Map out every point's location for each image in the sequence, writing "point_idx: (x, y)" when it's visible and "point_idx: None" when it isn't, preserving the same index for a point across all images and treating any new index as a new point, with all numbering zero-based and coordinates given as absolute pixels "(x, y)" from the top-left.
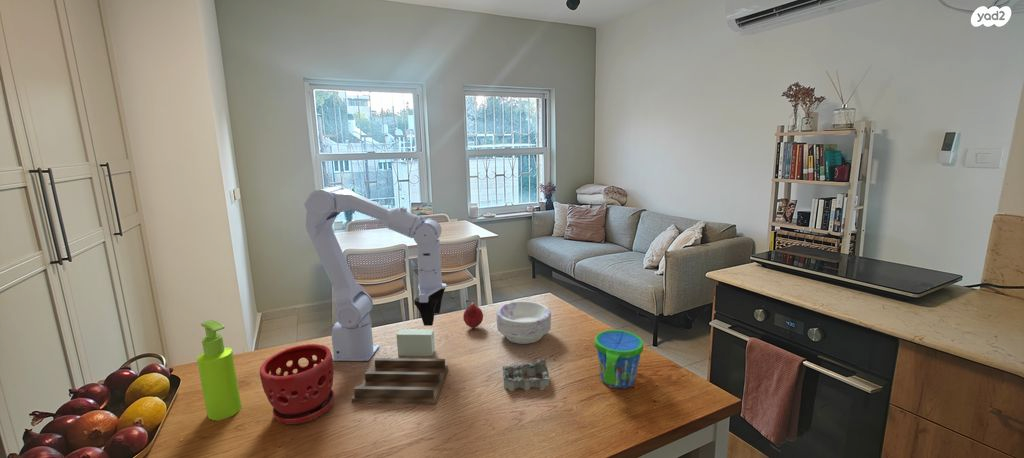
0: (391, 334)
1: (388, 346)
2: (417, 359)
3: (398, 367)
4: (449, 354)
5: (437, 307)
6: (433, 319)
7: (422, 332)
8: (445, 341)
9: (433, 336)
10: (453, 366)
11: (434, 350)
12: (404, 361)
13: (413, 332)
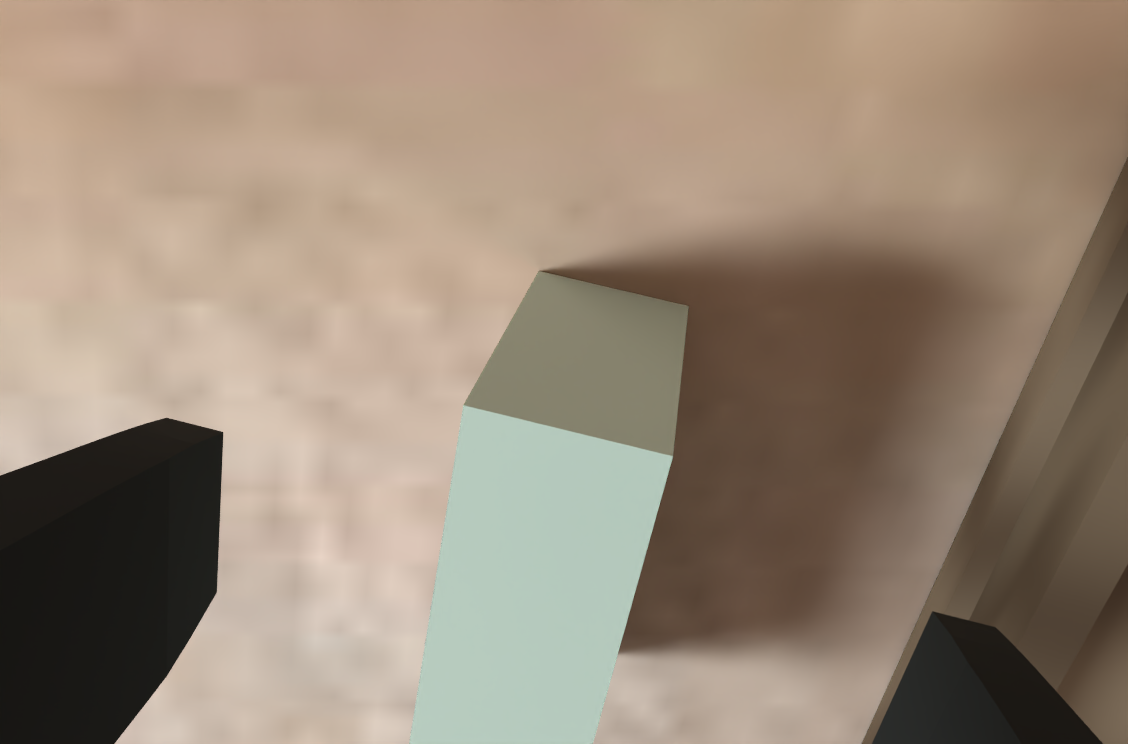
0: None
1: (380, 729)
2: (1085, 559)
3: None
4: (702, 67)
5: (121, 551)
6: (1032, 709)
7: (549, 576)
8: (297, 123)
9: (526, 366)
10: (1098, 8)
11: (558, 278)
12: None
13: (525, 692)
